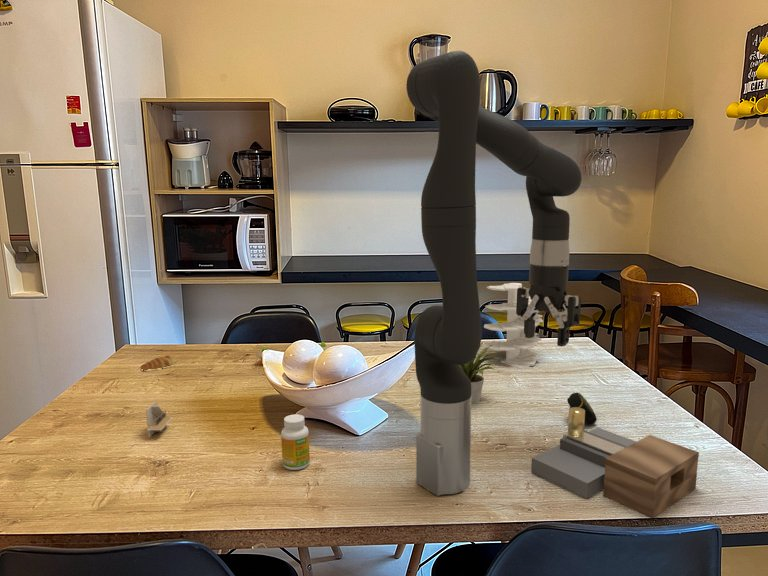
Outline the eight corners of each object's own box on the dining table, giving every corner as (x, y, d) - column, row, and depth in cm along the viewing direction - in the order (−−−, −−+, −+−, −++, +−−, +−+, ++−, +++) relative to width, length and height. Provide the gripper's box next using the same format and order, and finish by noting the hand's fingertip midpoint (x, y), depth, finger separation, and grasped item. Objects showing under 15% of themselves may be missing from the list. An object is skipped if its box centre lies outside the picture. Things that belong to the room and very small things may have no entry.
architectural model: (173, 430, 129) (171, 400, 128) (162, 444, 122) (159, 412, 121) (159, 431, 129) (156, 400, 128) (146, 444, 122) (143, 412, 121)
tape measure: (587, 429, 128) (601, 420, 127) (572, 417, 125) (586, 407, 124) (574, 407, 134) (587, 398, 133) (559, 395, 131) (572, 386, 129)
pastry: (146, 376, 164) (145, 364, 164) (137, 371, 169) (135, 359, 168) (177, 369, 171) (176, 357, 170) (167, 363, 175) (166, 352, 175)
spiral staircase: (538, 355, 181) (541, 279, 177) (545, 373, 164) (548, 289, 159) (481, 353, 184) (483, 278, 179) (482, 370, 167) (483, 288, 162)
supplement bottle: (297, 473, 108) (295, 426, 106) (276, 466, 111) (274, 420, 109) (315, 461, 112) (313, 416, 111) (294, 455, 115) (292, 410, 114)
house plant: (470, 418, 132) (471, 352, 129) (428, 402, 142) (428, 340, 140) (507, 403, 141) (509, 340, 139) (465, 389, 152) (466, 330, 149)
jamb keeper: (652, 518, 92) (655, 478, 91) (603, 494, 99) (605, 458, 98) (695, 488, 101) (699, 452, 100) (647, 468, 108) (649, 435, 107)
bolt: (613, 464, 103) (615, 428, 102) (562, 443, 112) (564, 410, 110) (625, 458, 105) (627, 423, 104) (574, 437, 114) (576, 405, 113)
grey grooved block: (586, 499, 98) (588, 472, 97) (531, 472, 107) (532, 447, 106) (651, 461, 111) (653, 437, 110) (596, 440, 120) (598, 418, 119)
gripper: (508, 260, 115) (506, 337, 118) (568, 267, 104) (564, 352, 107) (532, 257, 120) (529, 331, 122) (592, 264, 108) (587, 346, 111)
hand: (545, 341), depth 114 cm, fingers open, 7 cm apart
